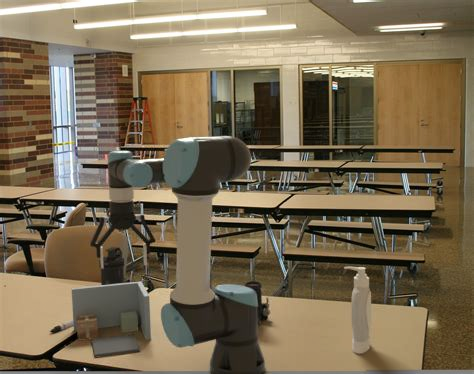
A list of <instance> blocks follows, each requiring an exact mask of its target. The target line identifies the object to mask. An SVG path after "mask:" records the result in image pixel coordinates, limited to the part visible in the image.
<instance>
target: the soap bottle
mask: <svg viewBox="0 0 474 374" xmlns="http://www.w3.org/2000/svg"><path fill="white" fill-rule="evenodd" d="M343 269H344V270H345V269H346V270H348V269H349V270H351V271H352V270H353V271H356V272H357V273H356V275H355V276H354V277H353V290H352V292H351V312H350V313H351V314H350V315H351V317H350V318H351V327H352V328H351V329H352V342H351V350H352V352H353V353H355V354H357V355H360V354H365V353H366V352H368V351H369V350H370V348H371V341H370V340H371V337H370V331H371V330H370V329H371V324H372V322H371V321H372V292H371V289H370V277H368V276H367V273H366V267H364V266H359V267H357V266H344V268H343Z"/></svg>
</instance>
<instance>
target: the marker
mask: <svg viewBox="0 0 474 374" xmlns="http://www.w3.org/2000/svg"><path fill="white" fill-rule="evenodd" d="M70 327H74V324H73V318H72V319H70V320H68V321H64V322H63V323H59V324H58V325H57V326H54V327H53V328H52V329H51V330H49V332H50V334H51V333H58V331H59V332H62V331H63V330H66V329H68V328H70Z"/></svg>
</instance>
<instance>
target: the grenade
mask: <svg viewBox="0 0 474 374" xmlns="http://www.w3.org/2000/svg"><path fill="white" fill-rule="evenodd" d="M105 252H107V256H103V266H104V268H103V269H101V258H99V260H98V264H99V265H98V266H99V269H100V277H101V278H100V283H101V284H100V285H110V284H120V283H125V274H124V271H125V270H124V267H125V258H124V254H123V252H122V249H120V247H118V246H116V247H115V246H112V247H110V248H107V249H105Z"/></svg>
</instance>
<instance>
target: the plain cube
mask: <svg viewBox="0 0 474 374" xmlns="http://www.w3.org/2000/svg"><path fill="white" fill-rule="evenodd" d="M120 320H121V326H120V329H121V332H122V333H126V332H127V333H128V332H129V333H130V332H136V331H139V324H138V318H137V314H136V311H132V312H123V313H120Z"/></svg>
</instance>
